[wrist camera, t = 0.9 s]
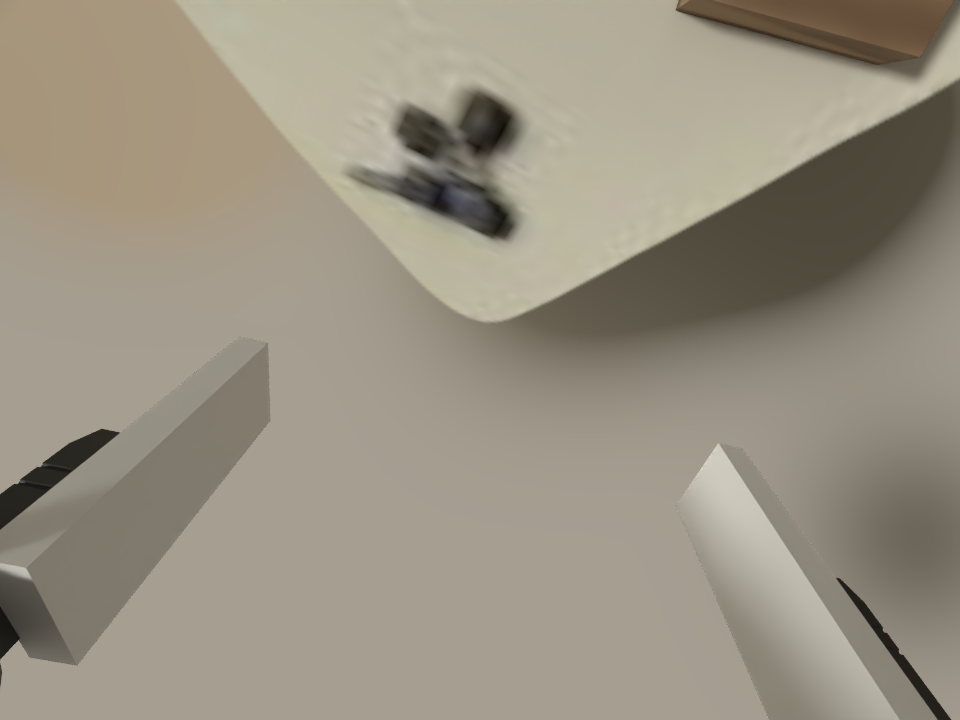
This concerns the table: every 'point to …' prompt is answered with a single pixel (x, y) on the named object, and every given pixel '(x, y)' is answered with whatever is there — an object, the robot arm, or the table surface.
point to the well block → (835, 23)
